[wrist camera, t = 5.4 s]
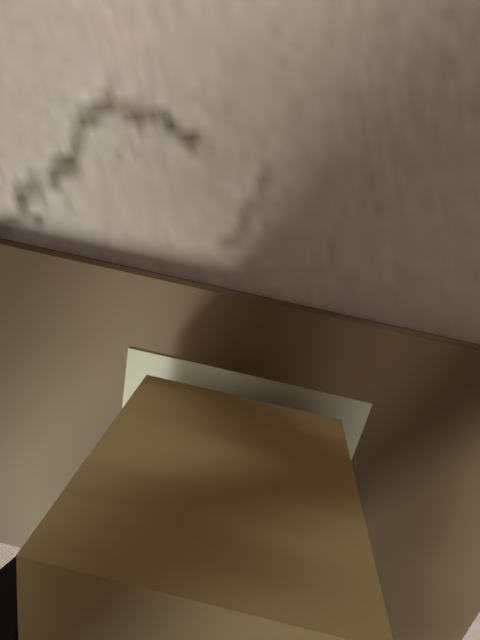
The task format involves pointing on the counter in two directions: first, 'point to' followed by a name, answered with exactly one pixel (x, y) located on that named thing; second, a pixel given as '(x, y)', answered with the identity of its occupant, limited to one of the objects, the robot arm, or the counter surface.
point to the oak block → (205, 529)
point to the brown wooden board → (255, 383)
